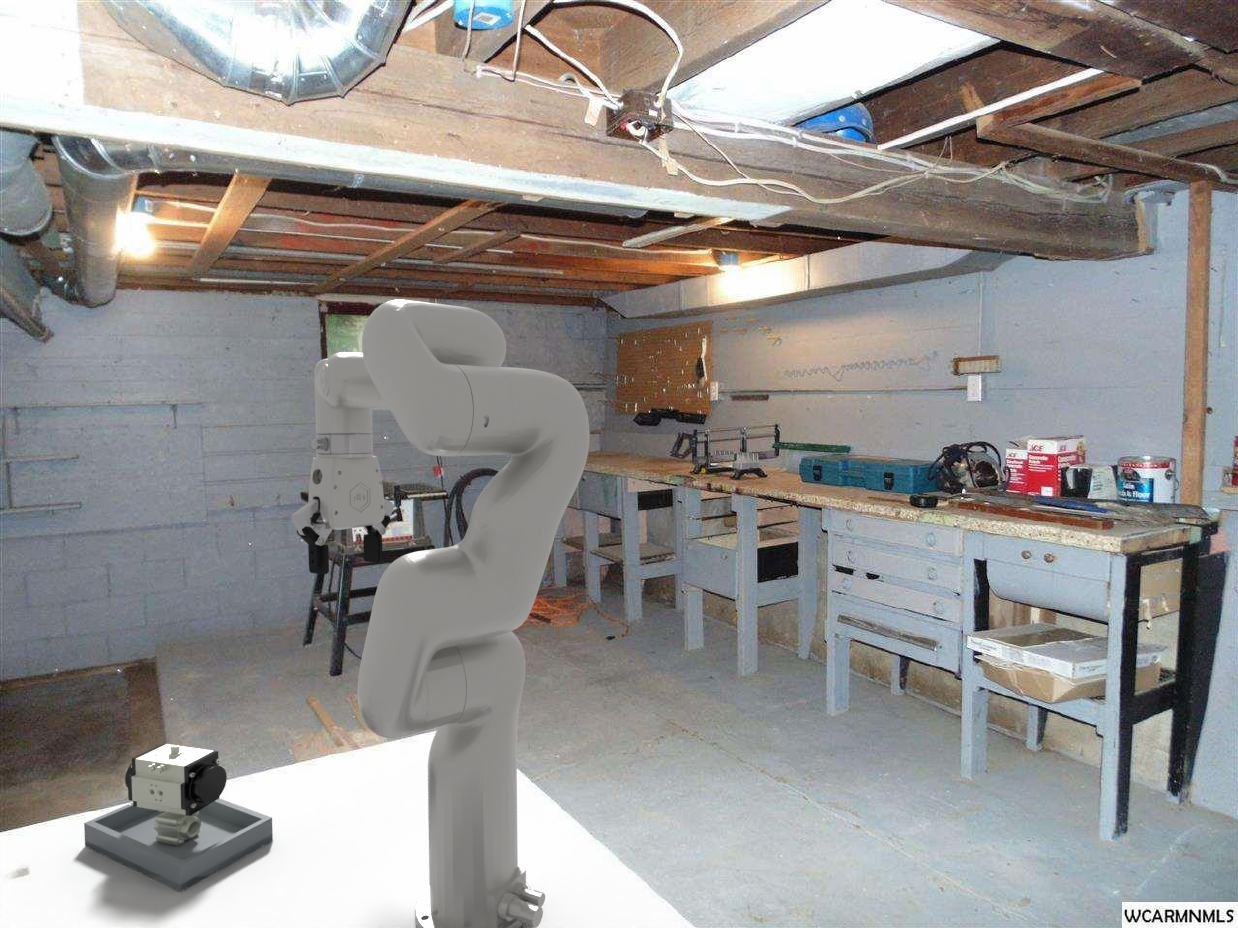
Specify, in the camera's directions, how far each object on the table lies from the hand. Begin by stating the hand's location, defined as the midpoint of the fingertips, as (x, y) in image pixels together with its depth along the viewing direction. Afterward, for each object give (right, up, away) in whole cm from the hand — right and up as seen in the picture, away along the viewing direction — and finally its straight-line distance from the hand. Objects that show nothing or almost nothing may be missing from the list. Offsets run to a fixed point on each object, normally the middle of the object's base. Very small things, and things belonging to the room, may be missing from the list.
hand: (347, 567), depth 106 cm
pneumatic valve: (-18, -33, -11) cm, 39 cm away
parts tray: (-18, -34, -10) cm, 40 cm away
